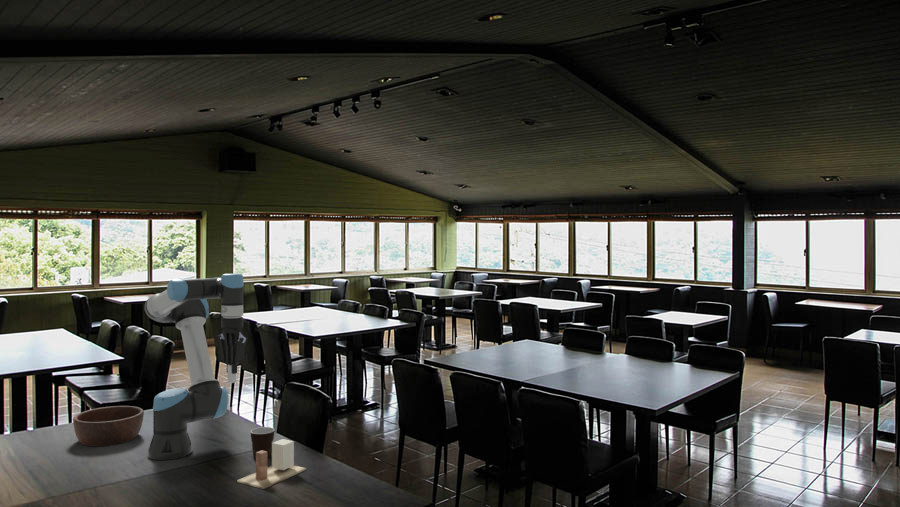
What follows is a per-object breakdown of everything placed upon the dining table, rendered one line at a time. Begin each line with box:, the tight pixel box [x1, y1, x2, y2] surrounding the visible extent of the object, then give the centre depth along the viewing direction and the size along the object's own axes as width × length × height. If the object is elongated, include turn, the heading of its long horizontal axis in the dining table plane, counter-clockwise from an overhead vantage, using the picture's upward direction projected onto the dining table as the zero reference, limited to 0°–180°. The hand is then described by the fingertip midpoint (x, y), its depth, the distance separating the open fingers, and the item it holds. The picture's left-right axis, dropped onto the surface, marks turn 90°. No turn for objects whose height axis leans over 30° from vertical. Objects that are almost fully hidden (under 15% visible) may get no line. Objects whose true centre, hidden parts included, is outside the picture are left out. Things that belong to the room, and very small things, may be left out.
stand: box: [236, 450, 307, 490], centre depth 215 cm, size 12×20×10 cm, turn 151°
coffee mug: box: [250, 426, 276, 461], centre depth 234 cm, size 12×9×10 cm
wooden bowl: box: [72, 405, 145, 447], centre depth 253 cm, size 25×25×10 cm
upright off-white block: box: [271, 438, 295, 470], centre depth 219 cm, size 5×5×9 cm
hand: (231, 382), depth 225 cm, fingers closed
